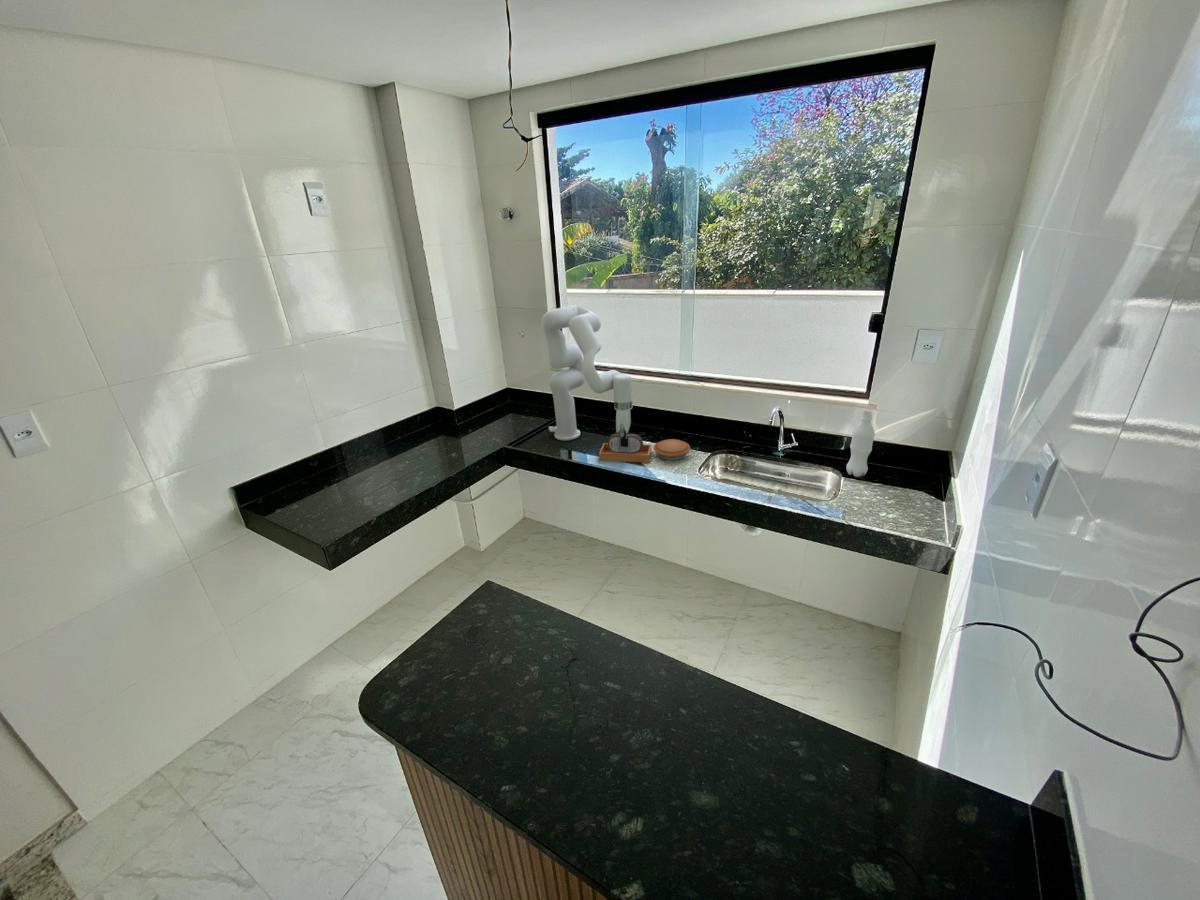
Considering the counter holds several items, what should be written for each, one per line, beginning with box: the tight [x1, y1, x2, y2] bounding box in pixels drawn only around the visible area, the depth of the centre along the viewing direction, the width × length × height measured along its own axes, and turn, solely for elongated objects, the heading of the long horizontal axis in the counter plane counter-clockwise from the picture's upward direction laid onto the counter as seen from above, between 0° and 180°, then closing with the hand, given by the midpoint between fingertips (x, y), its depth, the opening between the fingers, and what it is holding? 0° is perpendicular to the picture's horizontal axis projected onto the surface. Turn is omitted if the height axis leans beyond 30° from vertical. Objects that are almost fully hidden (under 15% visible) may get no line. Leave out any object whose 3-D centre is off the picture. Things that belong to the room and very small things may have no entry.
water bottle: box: [845, 410, 876, 478], centre depth 178 cm, size 7×7×25 cm
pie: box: [653, 438, 691, 461], centre depth 206 cm, size 15×16×5 cm
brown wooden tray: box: [598, 442, 653, 464], centre depth 208 cm, size 21×10×4 cm, turn 78°
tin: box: [607, 432, 644, 453], centre depth 206 cm, size 15×3×8 cm, turn 78°
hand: (625, 444), depth 207 cm, fingers closed on tin, 2 cm apart
